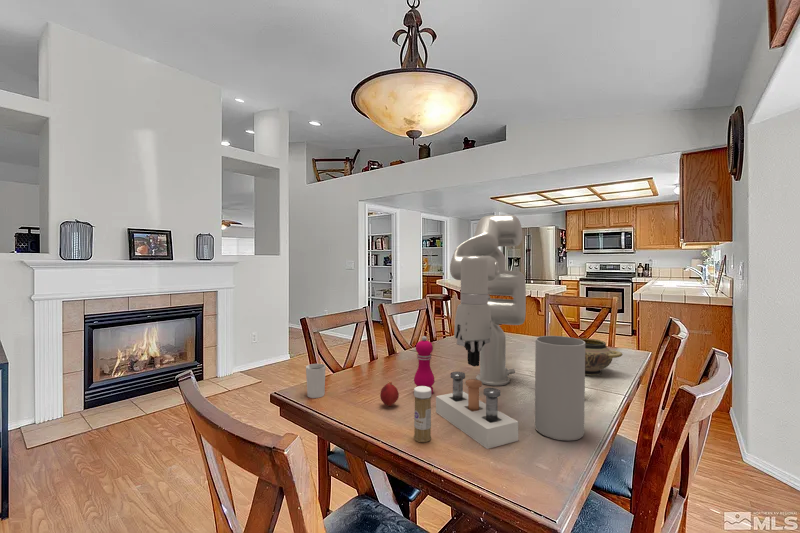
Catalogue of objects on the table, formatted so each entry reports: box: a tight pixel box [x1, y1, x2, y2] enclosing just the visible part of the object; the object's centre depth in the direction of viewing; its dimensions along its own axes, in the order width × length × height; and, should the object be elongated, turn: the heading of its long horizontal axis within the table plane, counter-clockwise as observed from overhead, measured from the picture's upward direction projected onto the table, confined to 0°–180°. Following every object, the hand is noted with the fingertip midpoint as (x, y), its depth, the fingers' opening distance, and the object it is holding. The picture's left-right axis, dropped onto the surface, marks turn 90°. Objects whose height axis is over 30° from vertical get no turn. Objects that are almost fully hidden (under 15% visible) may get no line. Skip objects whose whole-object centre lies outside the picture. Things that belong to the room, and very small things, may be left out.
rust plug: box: [465, 378, 483, 412], centre depth 109 cm, size 4×4×8 cm
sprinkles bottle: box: [413, 386, 432, 443], centre depth 101 cm, size 5×5×14 cm
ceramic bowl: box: [579, 338, 623, 376], centre depth 159 cm, size 24×18×15 cm
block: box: [435, 390, 519, 450], centre depth 109 cm, size 10×25×5 cm, turn 25°
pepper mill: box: [413, 335, 436, 395], centre depth 135 cm, size 7×7×20 cm
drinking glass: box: [305, 363, 326, 399], centre depth 133 cm, size 7×7×10 cm
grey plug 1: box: [450, 371, 466, 402], centre depth 116 cm, size 4×4×8 cm
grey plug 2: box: [482, 387, 502, 423], centre depth 102 cm, size 4×4×8 cm
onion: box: [380, 380, 400, 407], centre depth 123 cm, size 6×6×8 cm
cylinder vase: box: [534, 335, 586, 442], centre depth 106 cm, size 12×12×25 cm
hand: (473, 364), depth 109 cm, fingers closed
